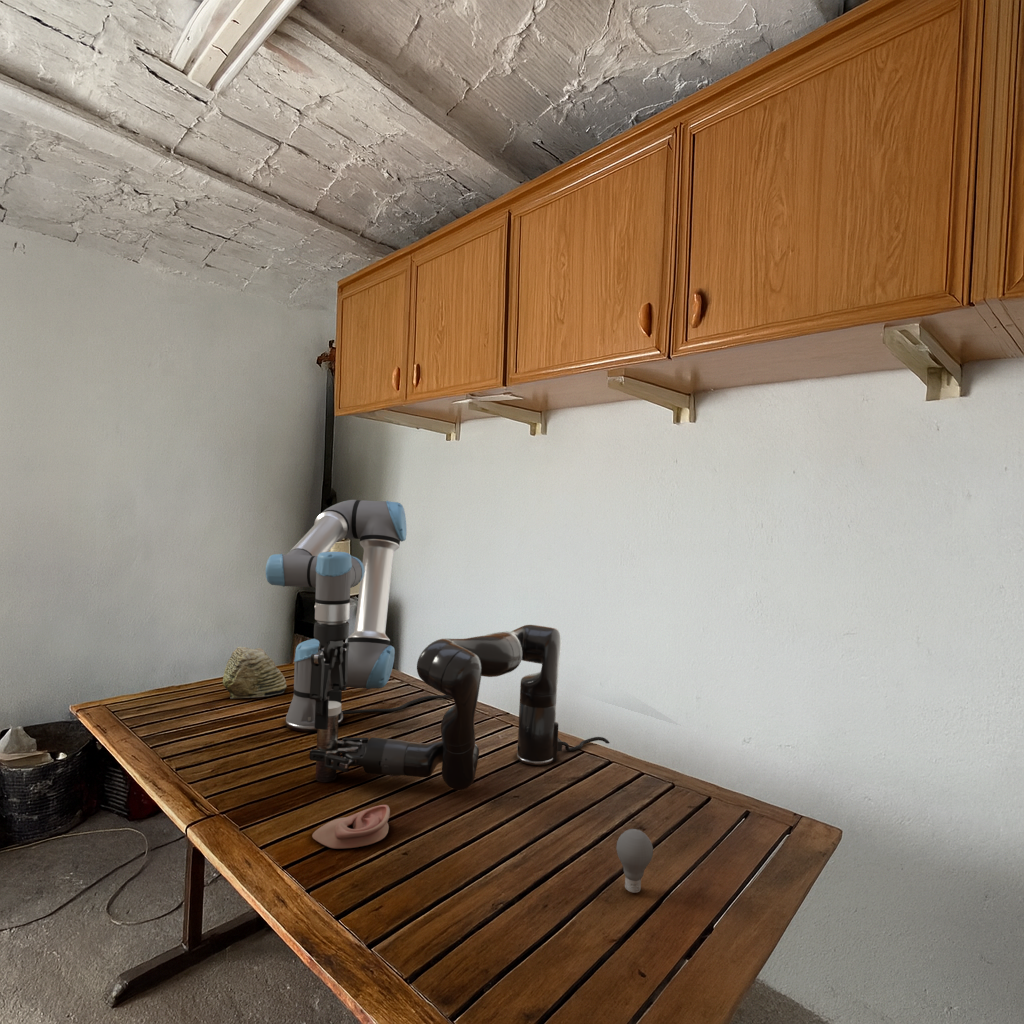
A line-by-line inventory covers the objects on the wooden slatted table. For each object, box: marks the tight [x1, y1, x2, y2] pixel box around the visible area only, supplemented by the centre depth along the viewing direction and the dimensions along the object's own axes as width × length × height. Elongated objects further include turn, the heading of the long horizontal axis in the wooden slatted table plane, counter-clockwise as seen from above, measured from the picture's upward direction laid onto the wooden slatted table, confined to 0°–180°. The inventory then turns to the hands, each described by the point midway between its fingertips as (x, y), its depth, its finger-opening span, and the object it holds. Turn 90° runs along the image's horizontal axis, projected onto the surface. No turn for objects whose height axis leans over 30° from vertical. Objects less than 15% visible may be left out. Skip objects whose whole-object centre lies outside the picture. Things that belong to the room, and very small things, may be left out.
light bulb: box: [615, 828, 654, 894], centre depth 106 cm, size 6×6×10 cm
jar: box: [315, 714, 339, 783], centre depth 143 cm, size 4×4×16 cm
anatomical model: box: [311, 804, 391, 850], centre depth 119 cm, size 13×4×12 cm
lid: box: [328, 701, 342, 716], centre depth 142 cm, size 6×6×2 cm
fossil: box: [222, 646, 288, 699], centre depth 198 cm, size 9×18×15 cm, turn 132°
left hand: (327, 723), depth 142 cm, fingers closed on lid, 5 cm apart
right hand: (315, 750), depth 143 cm, fingers closed on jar, 4 cm apart
